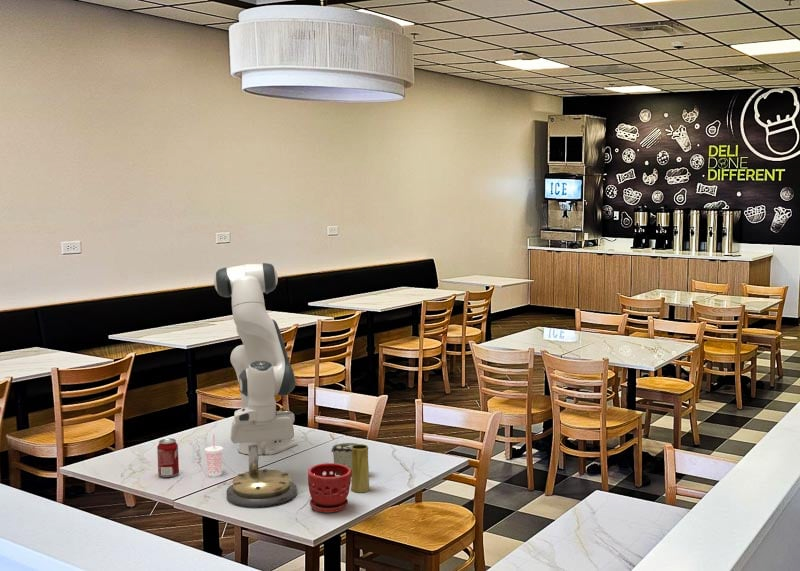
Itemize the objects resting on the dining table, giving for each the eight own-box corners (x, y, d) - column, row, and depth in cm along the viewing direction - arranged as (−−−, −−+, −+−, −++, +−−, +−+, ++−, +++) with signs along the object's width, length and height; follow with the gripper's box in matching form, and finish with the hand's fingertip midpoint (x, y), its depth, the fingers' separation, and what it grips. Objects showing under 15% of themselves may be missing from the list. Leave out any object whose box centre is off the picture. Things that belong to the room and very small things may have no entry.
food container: (372, 472, 284) (371, 444, 283) (365, 478, 278) (365, 449, 277) (338, 469, 288) (338, 441, 287) (331, 474, 282) (331, 446, 281)
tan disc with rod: (299, 491, 260) (299, 453, 259) (245, 502, 251) (244, 463, 249) (276, 474, 275) (276, 439, 274) (224, 485, 266) (223, 448, 264)
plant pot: (306, 516, 246) (305, 476, 244) (310, 499, 259) (310, 462, 257) (350, 515, 246) (349, 476, 244) (352, 499, 259) (352, 462, 257)
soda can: (173, 479, 279) (172, 444, 277) (154, 477, 280) (153, 443, 279) (182, 472, 285) (181, 438, 284) (164, 471, 286) (162, 437, 285)
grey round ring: (267, 478, 279) (267, 471, 278) (311, 493, 264) (311, 486, 264) (212, 496, 262) (212, 489, 262) (255, 513, 248) (255, 506, 247)
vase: (362, 494, 263) (362, 450, 262) (347, 490, 266) (346, 447, 265) (373, 488, 268) (373, 445, 267) (357, 485, 272) (357, 442, 270)
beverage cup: (202, 476, 281) (200, 435, 280) (212, 470, 287) (210, 430, 286) (217, 478, 279) (216, 437, 278) (227, 472, 285) (226, 432, 284)
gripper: (293, 407, 273) (293, 448, 274) (229, 411, 268) (230, 453, 269) (295, 412, 267) (296, 454, 268) (230, 416, 262) (231, 459, 263)
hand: (262, 454), depth 269 cm, fingers closed
